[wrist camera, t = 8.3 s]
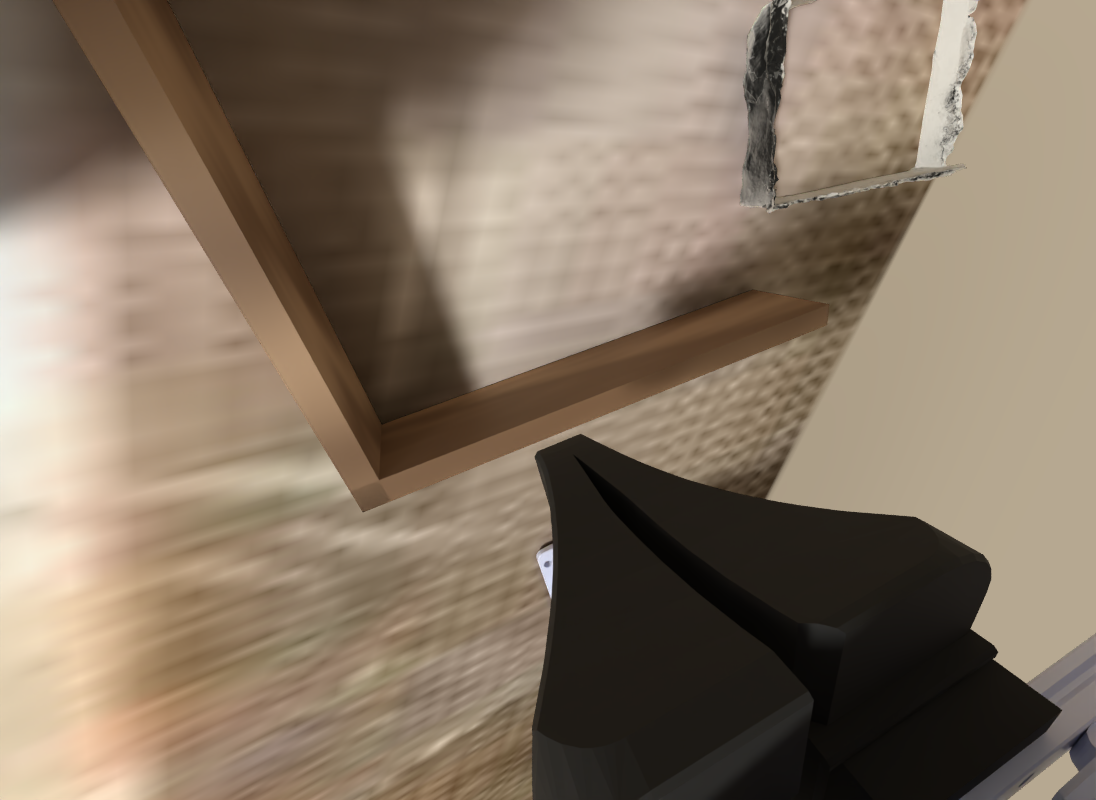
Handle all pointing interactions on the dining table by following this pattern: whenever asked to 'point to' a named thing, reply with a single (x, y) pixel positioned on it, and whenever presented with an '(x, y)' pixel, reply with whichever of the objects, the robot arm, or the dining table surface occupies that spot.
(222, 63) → the dining table surface
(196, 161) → the walnut u-shaped frame
